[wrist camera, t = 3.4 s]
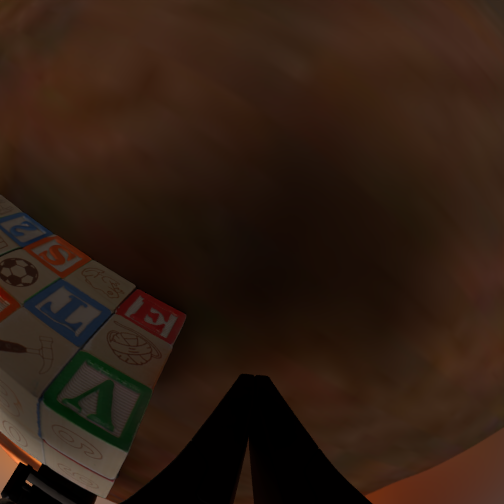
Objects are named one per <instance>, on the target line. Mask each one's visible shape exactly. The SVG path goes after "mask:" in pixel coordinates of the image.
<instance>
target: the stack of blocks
mask: <svg viewBox="0 0 504 504" xmlns="http://www.w3.org/2000/svg"><path fill="white" fill-rule="evenodd" d="M185 319H186V314H184V313H183V312H181V311H179V310H176V309H175V308H173V307H171V306H169V305H167V304H165V303H163V302H161V301H160V300H158V299H156V298H154V297H152V296H151V295H149V294H147V293H145V292H143V291H142V290H139V289H136V286H135V285H134V284H133V283H131V282H129V281H128V280H126V279H124V278H123V277H121V276H119V275H118V274H116V273H114V272H113V271H111V270H110V269H108V268H106V267H105V266H103V265H102V264H100V263H98V262H96V261H94V260H92V259H91V258H90V257H89V256H87V255H86V254H84V253H83V252H81V251H80V250H78V249H77V248H75V247H74V246H73V245H71V244H70V243H68V242H67V241H65V240H64V239H62V238H61V237H59V236H58V235H54V234H53V233H52V232H50V231H49V230H48V229H46V228H45V227H43V226H42V225H41V224H39V223H38V222H36V221H35V220H34V219H32V218H31V217H30V216H28V215H27V214H26V213H23V212H22V211H21V210H20V209H19V208H17V207H16V206H15V205H13V204H12V203H11V202H10V201H8V200H7V199H6V198H4V197H3V196H2V195H1V194H0V431H1V432H2V433H3V434H4V435H5V436H7V437H8V438H9V439H10V440H11V441H13V442H14V443H15V444H16V445H18V446H19V447H20V448H22V449H23V450H24V451H26V452H27V453H29V454H30V455H31V456H33V457H34V458H36V459H37V460H39V461H40V462H41V463H43V464H45V465H47V466H48V467H50V468H51V469H52V470H54V471H55V472H57V473H59V474H60V475H62V476H63V477H65V478H67V479H68V480H70V481H72V482H74V483H75V484H77V485H79V486H80V487H82V488H84V489H86V490H88V491H90V492H92V493H94V494H96V495H98V496H100V497H102V498H106V497H107V495H108V493H109V491H110V489H111V487H112V485H113V483H114V481H115V479H116V476H117V474H118V472H119V470H120V468H121V466H122V464H123V462H124V460H125V458H126V456H127V454H128V452H129V450H130V448H131V445H132V443H133V440H134V438H135V435H136V433H137V431H138V428H139V426H140V423H141V421H142V418H143V416H144V413H145V411H146V408H147V406H148V404H149V401H150V399H151V396H152V394H153V391H154V387H155V385H156V383H157V381H158V379H159V377H160V375H161V373H162V370H163V368H164V366H165V364H166V362H167V360H168V357H169V355H170V353H171V351H172V349H173V344H174V342H175V340H176V339H177V337H178V335H179V333H180V331H181V329H182V327H183V324H184V322H185Z"/></svg>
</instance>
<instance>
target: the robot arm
mask: <svg viewBox="0 0 504 504" xmlns="http://www.w3.org/2000/svg"><path fill="white" fill-rule="evenodd" d="M248 437H249V451H250V463H251V475H252V486H253V497H254V504H372V503H371V502H370V501H369V500H368V499H367V498H366V497H364V496H363V495H362V494H361V493H360V492H359V491H358V490H357V489H356V488H355V487H354V486H353V485H351V484H350V483H349V482H348V481H347V480H346V479H345V478H344V477H343V476H342V475H341V474H340V473H339V472H338V471H337V469H336V468H335V467H334V466H333V465H332V464H331V462H330V461H329V460H328V459H327V457H326V456H325V455H324V454H323V452H322V451H321V449H318V448H319V447H318V446H317V444H316V443H315V442H314V440H313V439H312V438H311V436H310V435H309V433H308V432H307V431H306V429H305V428H304V427H303V425H302V424H301V422H300V421H299V420H298V418H297V417H296V415H295V414H294V413H293V411H292V410H291V408H290V407H289V406H288V404H287V403H286V401H285V400H284V398H283V397H282V396H281V394H280V393H279V391H278V390H277V388H276V387H275V385H274V384H273V382H272V381H271V380H270V378H269V377H268V376H263V375H256V376H255V377H254V375H251V374H241V375H240V376H239V377H238V379H237V380H236V381H235V383H234V384H233V385H232V387H231V388H230V390H229V391H228V392H227V394H226V395H225V396H224V398H223V399H222V400H221V402H220V403H219V404H218V406H217V407H216V408H215V410H214V411H213V412H212V414H211V415H210V416H209V418H208V419H207V420H206V421H205V423H204V424H203V425H202V427H201V428H200V429H199V430H198V432H197V433H196V434H195V436H194V437H193V438H192V440H191V441H190V442H189V443H188V444H187V445H186V447H185V448H184V449H183V450H182V451H181V452H180V454H179V455H178V456H177V457H176V458H175V459H174V460H173V461H172V462H171V463H170V464H169V465H168V466H167V467H166V468H165V469H164V470H163V471H161V472H160V473H159V474H158V475H157V476H156V477H154V478H153V479H152V480H151V481H150V482H148V483H147V484H146V485H145V486H144V487H142V488H141V489H140V490H139V491H137V492H136V493H135V494H134V495H132V496H131V497H129V498H128V499H126V500H125V501H123V502H121V503H119V504H233V503H234V499H235V495H236V491H237V487H238V482H239V478H240V474H241V470H242V465H243V461H244V456H245V452H246V447H247V442H248ZM118 476H119V473H118V474H117V476H116V478H118ZM26 480H28V481H29V482H30V483H32V484H33V485H32V487H31V486H30V485H29V484H27V483H26V482H25V481H26ZM1 496H2V498H1V499H0V504H94V503H95V501H96V498H97V496H98V495H96V494H94V493H92V492H90V491H88V490H86V489H84V488H82V487H80V486H79V485H77V484H75V483H74V482H72V481H70V480H68V479H67V478H65V477H63V476H62V475H60V474H59V473H57V472H55V471H54V470H52V469H51V468H50V467H48V466H47V465H45V464H43V463H42V465H41V467H40V468H39V470H38V472H37V471H36V470H34V469H33V467H32V466H30V465H29V464H28V465H27V466H26V465H24V464H23V463H21V462H20V463H19V465H18V466H17V468H16V470H15V471H14V473H13V475H12V476H11V478H10V479H9V481H8V482H7V484H6V486H5V487H4V489H3V491H2V492H1Z"/></svg>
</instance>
